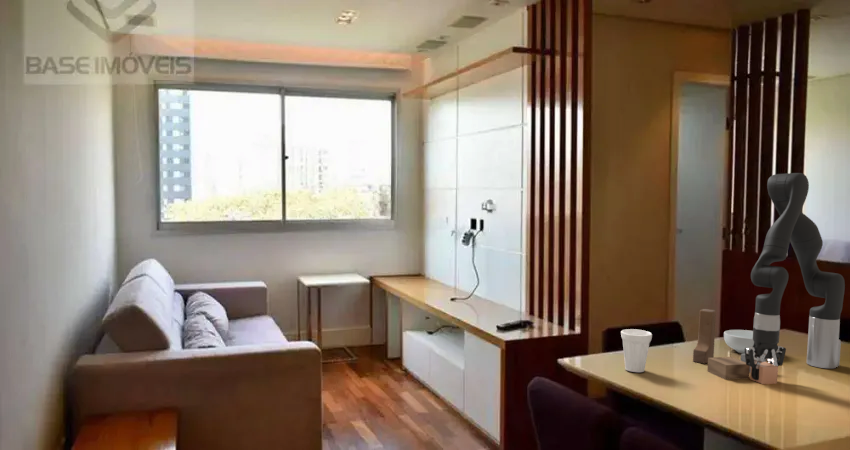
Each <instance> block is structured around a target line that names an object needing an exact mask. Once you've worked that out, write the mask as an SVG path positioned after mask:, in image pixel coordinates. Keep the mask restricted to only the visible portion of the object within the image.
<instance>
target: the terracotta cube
mask: <svg viewBox="0 0 850 450" xmlns="http://www.w3.org/2000/svg"><path fill="white" fill-rule="evenodd" d="M756 363H757V362H756ZM758 369H759V380H755V379H753V378H752V376H751V373H752V367H751V372H749V379H750V380H752V381H754V382H756V383H759V384H761V385H772V384H778V376H779V375H778V372H779V366H775V365H773V364H770V363H769V362H767V361H766V362H762V363H761V364H760V367H759V368H758Z"/></svg>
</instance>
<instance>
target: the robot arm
mask: <svg viewBox="0 0 850 450" xmlns="http://www.w3.org/2000/svg"><path fill="white" fill-rule="evenodd" d="M766 186H767V187H766V188H767V192H768V193H767V194H768V196H769V199H770V200H771V202H772V204H773V206H774V207H775V210H776V211H777V214H778V215H779V217H778V218H777V219H776V220H775V221H774V222H773V224H772V225H771V226H770V227H769V229H768V231H767V233H766V236H765V239H764V242H763V243H764V244H763V247H762V251H761V253H760V255H759V258H758V260H757V261H756V262H755V264H754V266H753V267H752V269H751V272H750V279H751V283H752V284H753V285H754V286H756V287H760V288H761V287H762V288H768V289H769V288H770V289H772V291H771V292H770V293H761V294H758V295H756V297H755V309H754V317H753V329H752V331H753V341H754V345H753V347H751V348H747V347H745V349H744V350H745V359H746V365H748V366H751V367H752V373H751V376H752V378H753V379H755V380H759V369H758V368H759V367H760V364H761V363H762V362H763V360H764V359H766V361H768V363H770V364H773V365H775V366H778V367H779V366H783V365H784V360H785V355H786V351H787V348H786V347H784V346H781V345H778V344H779V343H780V330H781V316H780V315H781V313H780V312H781V303H782V298H783V295H784V292H785V289H786V288H787V284H788V283H789V282H788V281H789V272H788V270H787V269H786V268H785V267H783V266H777V265H776V266H775V265H771V264H773V263H775V262H783V261H784V260H786V258H788V257H787V256H788V251H789V248H790V244H791V247H792V248H793V251H794V253H795V257H796V259H797V262H798V264H799V267H800V271H801V275H802V278H803V283H804V287H805V289H806V291H807V292H808V294H809V295H810V296H812V297H816V298H821V299H822V298H823V299H825V300H824V301H825V302H824V304H822V305H818V306H813V307H811V308H810V309H809V315H808V316H809V317H808V330H807V331H808V333H807V348H806V349H807V350H806V364H807V365H808V366H812V367H815V368H822V369H837V368H839V367H840V361H841V360H840V359H841V347H842V346H841V344H842V341H841V339H839V338H840V324H841V322H840V321H841V313H842V311H843V305H844V304H843V303H844V295H845V288H846V287H845V286H846V284H845V278H844V276H843V275H842V274H840V273H835V272H828V271H822V270H820V269H819V266H818V264H817V260H818V256H819V255H820V253H821V251H822V248H823V243H824V242H823V238H822V235H821V233H820V231H819V227H818V226H817V224H816V223H815V222H814V221H813V220H812V219H811V218H810V217H808V215H806V214H804V213H803V212H802V209H803V207H804V205H805V203H806V199H807V197H808V195H809V194H808V193H809V188H810V187H809V186H810V184H809V179H808V178H807V176H806V175H805V174H804V173H803V172H791V173H790V172H789V173H775V174H772V175H771V176H770V177H768V179H767V184H766ZM754 352H755V353H754ZM753 354H754V355H753ZM757 357H758V358H759V359H758V358H757ZM756 362H757V363H756ZM838 366H839V367H838ZM836 367H837V368H836Z"/></svg>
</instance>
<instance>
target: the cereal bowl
mask: <svg viewBox="0 0 850 450" xmlns="http://www.w3.org/2000/svg"><path fill="white" fill-rule="evenodd" d="M723 339H724V342H725V344H726V345H727V346H728V347H729V348H730V349H733V350H735V352H737V353H739V354H744V353H745V350H744V349H745V347H747V348H751V347H753V345H754V341H753V330H747V329H745V330H744V329H729V330H725V331H724V332H723ZM754 353H755V352H754Z"/></svg>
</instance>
